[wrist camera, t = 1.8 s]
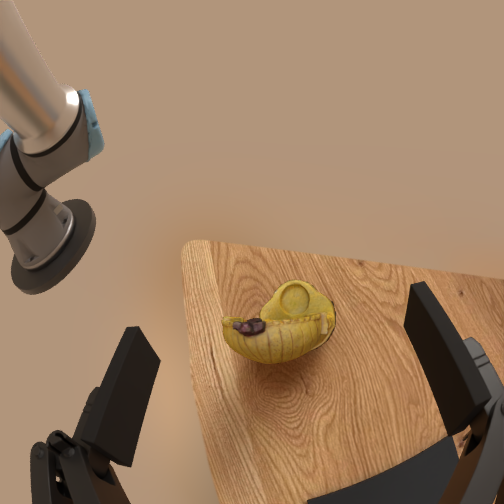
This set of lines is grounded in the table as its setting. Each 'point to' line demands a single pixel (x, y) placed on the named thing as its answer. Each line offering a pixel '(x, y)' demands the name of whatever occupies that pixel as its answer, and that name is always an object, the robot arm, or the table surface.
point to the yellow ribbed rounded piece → (283, 325)
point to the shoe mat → (404, 480)
